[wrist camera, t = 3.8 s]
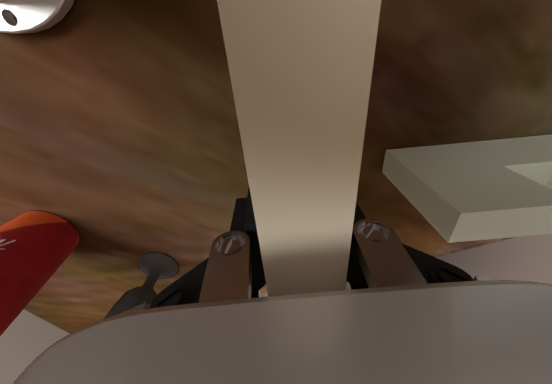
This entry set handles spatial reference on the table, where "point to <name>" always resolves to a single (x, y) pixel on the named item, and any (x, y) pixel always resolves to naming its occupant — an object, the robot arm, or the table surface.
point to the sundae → (146, 282)
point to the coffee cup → (30, 258)
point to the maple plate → (302, 128)
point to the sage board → (478, 186)
